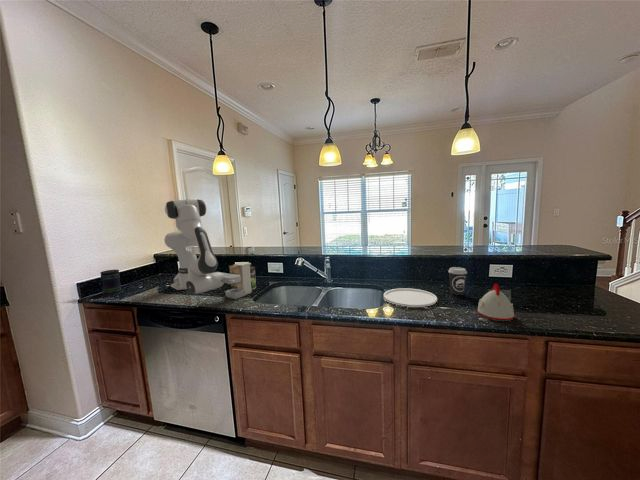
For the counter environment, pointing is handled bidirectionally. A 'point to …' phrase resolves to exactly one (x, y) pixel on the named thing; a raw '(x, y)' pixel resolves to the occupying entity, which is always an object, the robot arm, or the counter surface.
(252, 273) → the coffee can
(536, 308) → the counter surface
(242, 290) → the boot
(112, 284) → the storage jar
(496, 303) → the kitchen timer
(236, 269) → the tan rectangular block
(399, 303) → the plate
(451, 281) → the coffee cup
